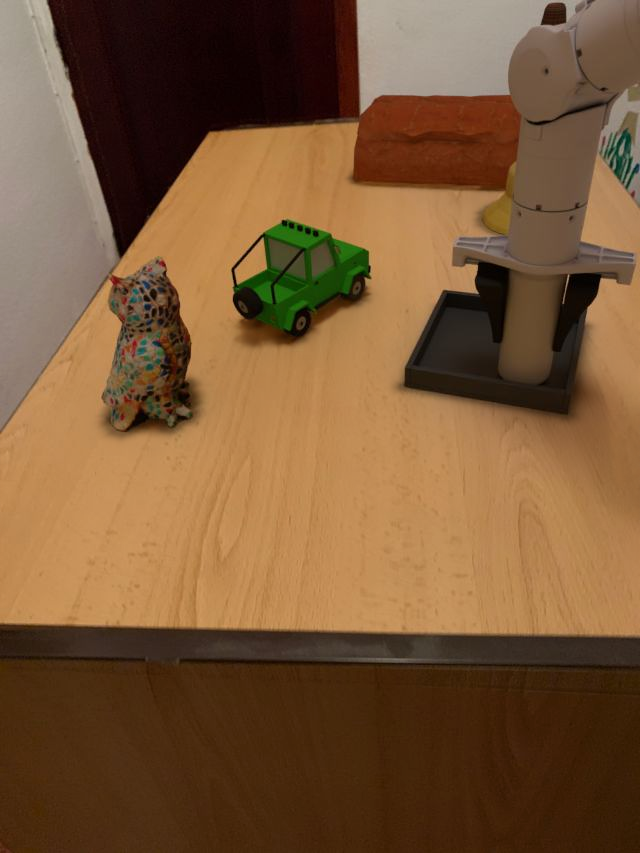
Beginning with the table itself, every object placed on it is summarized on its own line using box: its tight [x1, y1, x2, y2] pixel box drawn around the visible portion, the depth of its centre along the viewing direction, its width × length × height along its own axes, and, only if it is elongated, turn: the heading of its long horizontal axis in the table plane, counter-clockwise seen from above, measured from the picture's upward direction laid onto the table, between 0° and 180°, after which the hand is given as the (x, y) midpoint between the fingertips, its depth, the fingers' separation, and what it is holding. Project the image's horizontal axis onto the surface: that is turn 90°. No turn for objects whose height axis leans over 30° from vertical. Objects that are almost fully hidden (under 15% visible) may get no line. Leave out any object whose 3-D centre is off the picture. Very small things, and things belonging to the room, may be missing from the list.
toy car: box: [230, 218, 372, 338], centre depth 73 cm, size 8×17×10 cm, turn 137°
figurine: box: [100, 255, 194, 432], centre depth 60 cm, size 9×9×15 cm
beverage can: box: [498, 268, 569, 385], centre depth 59 cm, size 5×5×12 cm
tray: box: [404, 289, 589, 415], centre depth 66 cm, size 15×15×2 cm
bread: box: [352, 94, 522, 188], centre depth 102 cm, size 16×27×11 cm, turn 72°
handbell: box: [481, 1, 568, 235], centre depth 82 cm, size 12×12×25 cm
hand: (528, 341), depth 61 cm, fingers closed on beverage can, 5 cm apart
